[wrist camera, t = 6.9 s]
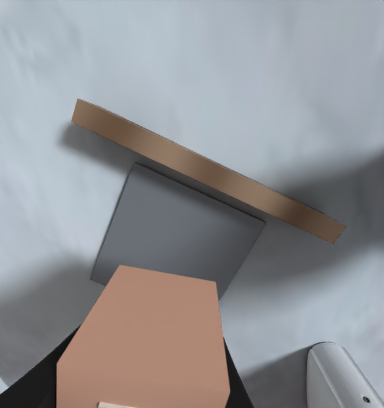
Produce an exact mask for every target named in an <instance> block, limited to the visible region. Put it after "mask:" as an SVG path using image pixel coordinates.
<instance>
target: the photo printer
mask: <svg viewBox="0 0 384 408" xmlns="http://www.w3.org/2000/svg"><path fill="white" fill-rule="evenodd" d="M307 404H308V408H384V400H383V399H382V397H381V396H380V395H379V393H378V392H377V390H376V389H375V388H374V386H373V385H372V384H371V382H370V381H369V379H368V378H367V377H366V375H365V374H364V373H363V371H362V370H361V368H360V367H359V366H358V364H357V363H356V361H355V360H354V359H353V357H352V356H351V354H350V353H349V352H348V351H347V350H346V348H344V347H340V346H339V345H338V344H335V343H331V342H324V343H319V344H317V345H315V346H313V348H312V349H310V350H309V353H308V359H307Z"/></svg>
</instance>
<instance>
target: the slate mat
mask: <svg viewBox="0 0 384 408" xmlns="http://www.w3.org/2000/svg"><path fill="white" fill-rule="evenodd" d="M265 224H266V223H265V222H264V221H262V220H260V219H258V218H256V217H254V216H251V215H249V214H247V213H245V212H243V211H240V210H238V209H236V208H234V207H232V206H230V205H227V204H225V203H223V202H221V201H219V200H217V199H214V198H212V197H210V196H208V195H206V194H204V193H201V192H199V191H197V190H195V189H193V188H191V187H188V186H186V185H184V184H182V183H180V182H178V181H175V180H173V179H171V178H169V177H167V176H164V175H162V174H160V173H158V172H156V171H154V170H151V169H149V168H147V167H145V166H143V165H141V164H138V163H136V162H135V163H134V165H133V167H132V170H131V173H130V175H129V178H128V181H127V183H126V186H125V189H124V191H123V194H122V197H121V199H120V202H119V204H118V207H117V210H116V212H115V215H114V218H113V220H112V223H111V226H110V228H109V231H108V234H107V236H106V239H105V241H104V244H103V247H102V249H101V252H100V255H99V257H98V260H97V263H96V265H95V268H94V271H93V273H92V276H91V278H90V280H93V281H95V282H98V283H100V284H103V285H105V286H107V284H108V282H109V281H110V279H111V278H112V276H113V275H114V273H115V271H116V270H117V268H118V267H119V265H124V266H129V267H135V268H141V269H146V270H152V271H158V272H163V273H169V274H175V275H180V276H186V277H192V278H197V279H203V280H208V281H214V282H216V287H217V295H218V302H219V300H220V298H221V297H222V295H223V293H224V292H225V290H226V288H227V287H228V285H229V284H230V282H231V280H232V279H233V277H234V275H235V274H236V272H237V270H238V269H239V267H240V266H241V264H242V262H243V261H244V259H245V257H246V256H247V254H248V252H249V251H250V249H251V247H252V246H253V244H254V243H255V241H256V239H257V238H258V236H259V234H260V233H261V231H262V229H263V228H264V226H265Z"/></svg>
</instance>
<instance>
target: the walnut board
mask: <svg viewBox="0 0 384 408" xmlns="http://www.w3.org/2000/svg"><path fill="white" fill-rule="evenodd" d="M71 122H73V123H75V124H77V125H79V126H81V127H84V128H86V129H88V130H90V131H92V132H94V133H96V134H99V135H101V136H103V137H105V138H107V139H109V140H111V141H114V142H116V143H118V144H120V145H122V146H124V147H127V148H129V149H131V150H133V151H135V152H137V153H139V154H142V155H144V156H146V157H148V158H150V159H152V160H154V161H157V162H159V163H161V164H163V165H165V166H167V167H169V168H172V169H174V170H176V171H178V172H180V173H182V174H185V175H187V176H189V177H191V178H193V179H195V180H197V181H200V182H202V183H204V184H206V185H208V186H210V187H212V188H215V189H217V190H219V191H221V192H223V193H225V194H227V195H230V196H232V197H234V198H236V199H238V200H240V201H243V202H245V203H247V204H249V205H251V206H253V207H255V208H258V209H260V210H262V211H264V212H266V213H268V214H270V215H273V216H275V217H277V218H279V219H281V220H283V221H285V222H288V223H290V224H292V225H294V226H296V227H298V228H301V229H303V230H305V231H307V232H309V233H311V234H313V235H316V236H318V237H320V238H322V239H324V240H326V241H328V242H331V243H333V244H334V243H335V241H336V240H337V239H338V237H339V236H340V235H341V233H342V232H343V231H344V229H345V228H346V226H344V225H342V224H340V223H339V222H337V221H335V220H333V219H332V218H330V217H328V216H326V215H325V214H323V213H321V212H319V211H317V210H315V209H312V208H310V207H308V206H306V205H304V204H302V203H300V202H298V201H296V200H294V199H292V198H290V197H287V196H285V195H283V194H281V193H279V192H277V191H275V190H273V189H271V188H269V187H267V186H264V185H262V184H260V183H258V182H256V181H254V180H252V179H250V178H248V177H246V176H244V175H241V174H239V173H237V172H235V171H233V170H231V169H229V168H227V167H225V166H223V165H221V164H219V163H216V162H214V161H212V160H210V159H208V158H206V157H204V156H202V155H200V154H198V153H196V152H193V151H191V150H189V149H187V148H185V147H183V146H181V145H179V144H177V143H175V142H173V141H171V140H168V139H166V138H164V137H162V136H160V135H158V134H156V133H154V132H152V131H150V130H148V129H145V128H143V127H141V126H139V125H137V124H135V123H133V122H131V121H129V120H127V119H125V118H123V117H120V116H118V115H116V114H114V113H112V112H110V111H108V110H106V109H104V108H102V107H100V106H97V105H94V104H92V103H89V102H86V101H83V100H81V99H77V103H76V106H75V110H74V114H73V117H72V121H71Z"/></svg>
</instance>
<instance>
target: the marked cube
mask: <svg viewBox="0 0 384 408" xmlns="http://www.w3.org/2000/svg"><path fill="white" fill-rule="evenodd" d="M229 394H230V386H229V378H228V371H227V363H226V356H225V348H224V341H223V333H222V325H221V318H220V310H219V303H218V295H217V287H216V282H214V281H208V280H203V279H197V278H192V277H186V276H180V275H175V274H169V273H163V272H158V271H152V270H146V269H141V268H135V267H129V266H124V265H119V267H118V268H117V270H116V271H115V273H114V275H113V276H112V278H111V279H110V281H109V282H108V284H107V286H106V287H105V289H104V290H103V292H102V293H101V295H100V297H99V298H98V300H97V301H96V303H95V304H94V306H93V308H92V309H91V311H90V312H89V314H88V315H87V317H86V319H85V320H84V322H83V323H82V325H81V326H80V328H79V330H78V331H77V333H76V334H75V336H74V337H73V339H72V341H71V342H70V344H69V345H68V347H67V348H66V350H65V352H64V353H63V355H62V356H61V358H60V359H59V361H58V363H57V408H225V406H226V403H227V400H228V397H229Z"/></svg>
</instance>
